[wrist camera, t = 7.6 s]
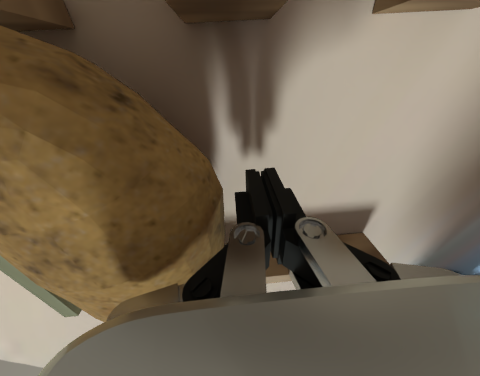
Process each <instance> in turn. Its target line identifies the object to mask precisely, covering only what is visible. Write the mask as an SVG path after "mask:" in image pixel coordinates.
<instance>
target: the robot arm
mask: <svg viewBox="0 0 480 376" xmlns="http://www.w3.org/2000/svg"><path fill="white" fill-rule="evenodd" d="M235 202H236V215H237V225H236V226H234V228H233V229H232V230H231V233H230V237H229V243H228V244H227V245H225V246H224V247H223V248H222V249H221V250H220V251H219V252H218V253H217V254H216V255H215V256H213V257H212V258H211V259H210V260H209V261H208V262H207V263H206V264H205V265H204V266H202V267H201V268H200V269H199V270H198V271H197V272H196V273H195V274H194V275H193V276H192V277H190V279H189V280H188V281H187V282H186V283H184V284H181V285H178V283H176V284H173V285H170V286H167V287H164V288H161V289H158V290H155V291H151V292H148V293H145V294H142V295H139V296H136V297H133V298H130V299H127V300H125V301H123V302H121V303H120V304H119V305H117V306H116V307H115V308H114V309H113V310H112V312H111V313H110V314H109V316H108V318H107V320H106V322H104V323H102V324H101V325H99V326H97V327H95V328H93V329H91V330H89V331H88V332H86V333H84V334H83V335H81V336H80V337H78V338H77V339H75V340H74V341H72V342H71V343H69V344H68V345H67V346H66V347H64V348H63V349H62V350H61V351H60V352H58V353H57V355H56V356H55V357H54V358H53V359H52V360H51V361H50V362H49V363H48V364H47V365H46V366H45V367H44V369H43V370H42V371H41V372H40V373H39V375H38V376H480V275H462V274H460V273H455V272H453V271H451V270H447V269H443V268H435V267H426V266H417V265H408V264H399V263H391V264H390V265H389V264H387V263H386V262H384V261H382V260H380V259H378V258H376V257H374V256H372V255H370V254H368V253H366V252H363V251H361V250H359V249H357V248H355V247H353V246H351V245H348V244H346V243H344V242H342V241H341V240H340V239H339V238H338V237H337V235H336V234H335V233H334V232H333V231H332V230H331V229H330V227H329V226H328V225H327V224H326V223H325V222H323V221H321V220H320V219H317V218H313V217H306V216H305V214H304V212H303V210H302V208H301V206H300V205H299V203H298V201H297V199H296V197H295V195H294V194H293V192H292V190H291V189H290V188H284V186H283V184H282V182H281V180H280V178H279V176H278V174H277V172H276V170H275V168H265V169H264V171H261V176H260V173H259V171H257V172H256V171H255V169H251V170H246V192H235ZM270 253H271V254H272V258H276V260H277V263H278V265H279V264H282V265H283V266H284V267H286V268H288V273H289V276H290V278H291V280H292V282H293V284H294V286H295V288H296V290H289V291H279V292H269V293H266V270H267V269H268V267H269V262H270Z"/></svg>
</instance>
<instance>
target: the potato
mask: <svg viewBox="0 0 480 376" xmlns="http://www.w3.org/2000/svg"><path fill="white" fill-rule="evenodd" d="M224 236H225V224H224V203H223V188H222V186H221V184H220V182H219V180H218V178H217V176H216V174H215V172H214V170H213V168H212V166H211V164H210V162H209V160H208V159H207V158H206V157H205V156H204V155H203V154H202V153H201V152H200V151H199V149H198V148H197V147H196V146H195V145H193V144H192V143H191V142H190V141H189V140H188V139H187V138H186V137H184V136H183V135H182V134H181V133H180V132H179V131H178V130H177V129H175V128H174V127H173V126H172V125H171V124H170V123H169V122H168V121H166V120H165V119H164V118H163V117H162V116H161V115H160V114H159V113H158V112H157V111H156V110H155V109H154V108H153V107H151V106H150V105H149V104H148V103H147V102H146V101H145V100H144V99H143V98H142V97H141V96H140V95H138V94H137V93H136V92H134V91H133V90H131V89H130V88H128V87H127V86H125V85H124V84H122V83H121V82H120V81H118V80H117V79H115V78H114V77H112V76H111V75H109V74H108V73H106V72H105V71H104V70H102V69H101V68H99V67H98V66H96V65H95V64H93V63H91V62H89V61H88V60H86V59H84V58H82V57H80V56H78V55H77V54H75V53H73V52H70V51H68V50H65V49H62V48H60V47H57V46H54V45H52V44H49V43H46V42H44V41H41V40H38V39H35V38H33V37H30V36H27V35H25V34H22V33H19V32H17V31H14V30H11V29H9V28H6V27H3V26H1V25H0V255H1V256H2V257H3V258H4V259H5V260H6V261H8V262H9V263H10V264H11V265H13V266H14V267H15V268H16V269H18V270H19V271H20V272H21V273H23V274H24V275H25V276H26V277H28V278H29V279H30V280H31V281H33V282H34V283H35V284H36V285H38V286H40V287H42V288H44V289H46V290H48V291H50V292H52V293H54V294H56V295H58V296H59V297H61V298H63V299H65V300H67V301H69V302H71V303H72V304H74V305H75V306H77V307H79V308H80V309H82V310H83V311H85V312H87V313H88V314H90V315H91V316H93V317H94V318H96V319H99V320H101V321H103V322H106V320H107V318H108V316H109V314H110V313H111V312H112V310H113V309H114V308H115V307H116V306H117V305H119V304H120V303H121V302H123V301H125V300H127V299H130V298H133V297H136V296H139V295H142V294H145V293H148V292H151V291H155V290H158V289H161V288H164V287H167V286H170V285H173V284H176V283H178V285H181V284H184V283H186V282H187V281H188V280H189V279H190V277H192V276H193V275H194V274H195V273H196V272H197V271H198V270H199V269H200V268H201V267H202V266H204V265H205V264H206V263H207V262H208V261H209V260H210V259H211V258H212V257H213V256H215V255H216V254H217V253H218V252H219V251H220V250H221V249H222V248H223V247H224Z"/></svg>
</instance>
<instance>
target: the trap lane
mask: <svg viewBox="0 0 480 376" xmlns="http://www.w3.org/2000/svg"><path fill="white" fill-rule="evenodd" d="M165 1H166V2H167V3H168V5H169V6H170V7H171V8H172V9H173V10H174V11H175V12H176V14H177V15H178V16H179V17H180V18H181V19H182V20H183V21H184V23H197V22H217V21H237V20H258V19H270V18H271V17H272V16H273V15H274V14H275V13H276V12H277V11H278V10H279V9H280V8H281V7H282V6H283V5H284V4H285V3H286V2H287V1H288V0H165ZM477 7H480V0H376V2H375V5H374V9H373V13H372V14H379V13H399V12H420V11H440V10H460V9H473V8H477ZM0 25H1V26H3V27H6V28H9V29H11V30H14V31H35V30H55V29H75V28H74V25H73V23H72V21H71V18H70V16H69V14H68V11H67V9H66V7H65V4H64V2H63V0H0ZM337 237H338V238H339V239H340V240H341V241H342V242H344V243H346V244H348V245H351V246H353V247H355V248H357V249H359V250H361V251H363V252H366V253H368V254H370V255H372V256H374V257H376V258H378V259H380V260H382V261H384V262H386V263H387V264H389V263H388V262H387V261H386V259H385V258H384V257H383V256H382V255H381V254H380V252H379V251H378V250H377V249H376V248H375V246H374V245H373V244H372V243H371V242H370V240H369V239H368V238H367V237H366V236H365V234H364V233H353V234H342V235H337ZM224 246H225V245H224ZM389 265H390V264H389ZM0 270H1V271H2V272H3V273H5V274H6V275H8V276H9V277H10V278H12V279H13V280H14V281H16V282H17V283H19V284H20V285H21V286H23V287H24V288H25V289H27V290H28V291H30V292H31V293H32V294H34V295H35V296H36V297H38V298H39V299H41V300H42V301H43V302H45V303H46V304H48V305H49V306H50V307H52V308H53V309H54V310H56V311H57V312H59V313H60V314H61V315H63V316H64V317H70V316H78V315H79V314H80V312H81V310H82V309H80V308H79V307H77V306H75V305H74V304H72V303H71V302H69V301H67V300H65V299H63V298H61V297H59V296H58V295H56V294H54V293H52V292H50V291H48V290H46V289H44V288H42V287H40V286H38V285H36V284H35V283H34V282H33V281H31V280H30V279H29V278H28V277H26V276H25V275H24V274H23V273H21V272H20V271H19V270H18V269H16V268H15V267H14V266H13V265H11V264H10V263H9V262H8V261H6V260H5V259H4V258H3V257H2V256H1V255H0ZM287 281H292V280H291V278H290V276H289V273H288V268H286V267H284V266H283V265H282V264H279V265H278V263H277V260H276V258H272V254H271V253H270V262H269V267H268V269H267V270H266V284H267V283H277V282H287Z"/></svg>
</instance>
